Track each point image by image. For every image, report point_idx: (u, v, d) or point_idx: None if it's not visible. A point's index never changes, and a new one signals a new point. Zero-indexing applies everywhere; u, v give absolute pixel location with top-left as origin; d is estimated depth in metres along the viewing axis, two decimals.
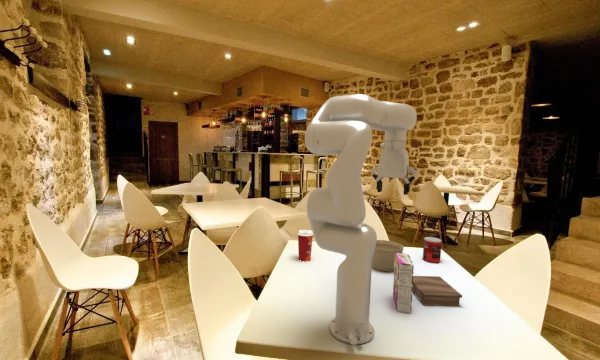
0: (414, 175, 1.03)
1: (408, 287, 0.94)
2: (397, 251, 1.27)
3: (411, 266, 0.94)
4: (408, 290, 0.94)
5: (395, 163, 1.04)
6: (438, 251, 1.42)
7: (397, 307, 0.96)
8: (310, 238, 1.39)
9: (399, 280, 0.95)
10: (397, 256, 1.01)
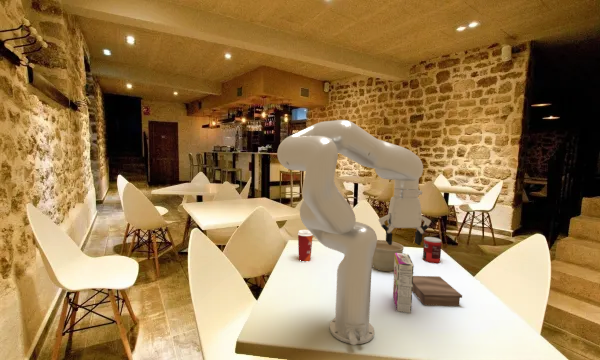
0: None
1: (408, 287, 0.94)
2: (397, 251, 1.27)
3: (411, 266, 0.94)
4: (408, 290, 0.94)
5: None
6: (438, 251, 1.42)
7: (397, 307, 0.96)
8: (310, 238, 1.39)
9: (399, 280, 0.95)
10: (397, 256, 1.01)
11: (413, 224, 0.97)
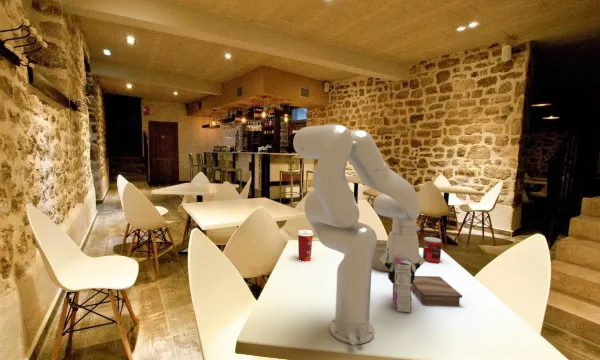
0: None
1: (406, 286, 0.94)
2: None
3: (409, 265, 0.94)
4: (408, 290, 0.94)
5: None
6: (438, 251, 1.42)
7: (397, 307, 0.96)
8: (310, 238, 1.39)
9: (398, 280, 0.95)
10: None
11: (411, 261, 0.98)
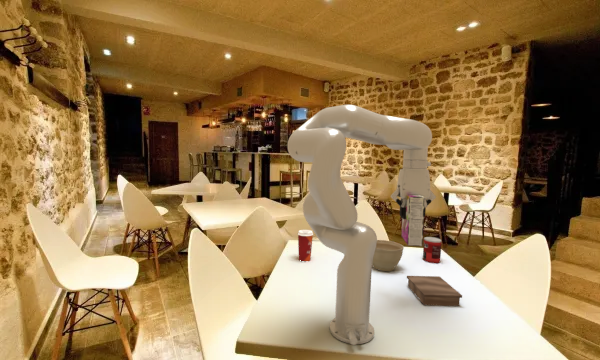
0: None
1: (419, 220, 0.94)
2: (397, 251, 1.27)
3: (422, 198, 0.94)
4: (420, 223, 0.95)
5: None
6: (438, 251, 1.42)
7: (408, 241, 0.96)
8: (310, 238, 1.39)
9: (410, 213, 0.95)
10: None
11: (422, 195, 0.98)
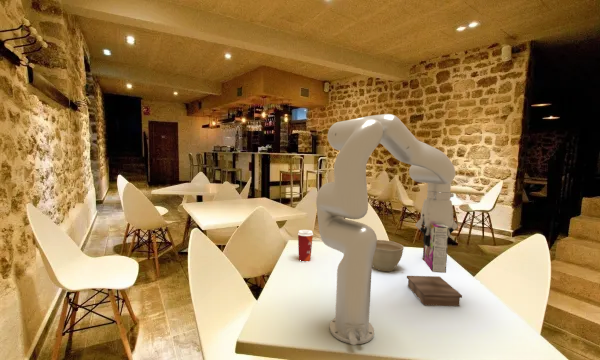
0: None
1: (443, 248, 1.01)
2: (397, 251, 1.27)
3: (446, 228, 1.00)
4: (444, 251, 1.01)
5: None
6: None
7: (433, 267, 1.02)
8: (310, 238, 1.39)
9: (435, 242, 1.01)
10: None
11: (446, 225, 1.04)
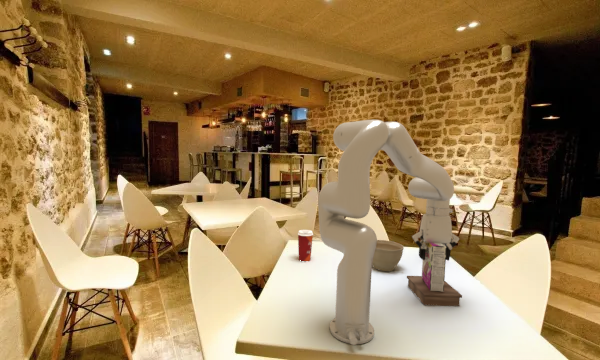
0: None
1: (441, 267, 1.01)
2: (397, 251, 1.27)
3: (444, 248, 1.01)
4: (441, 270, 1.01)
5: None
6: None
7: (431, 287, 1.02)
8: (310, 238, 1.39)
9: (433, 261, 1.02)
10: None
11: (444, 240, 1.04)
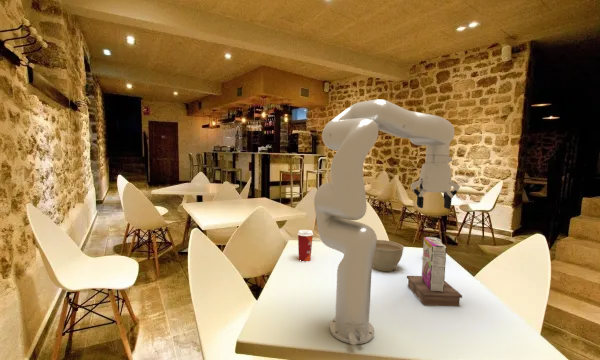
0: None
1: (441, 267, 1.01)
2: (397, 251, 1.27)
3: (444, 248, 1.01)
4: (441, 270, 1.01)
5: None
6: None
7: (431, 287, 1.02)
8: (310, 238, 1.39)
9: (433, 261, 1.02)
10: (428, 240, 1.08)
11: (444, 189, 1.04)
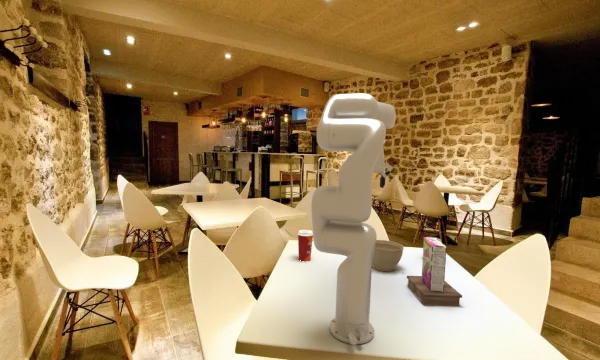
0: None
1: (441, 267, 1.01)
2: (397, 251, 1.27)
3: (444, 248, 1.01)
4: (441, 270, 1.01)
5: None
6: None
7: (431, 287, 1.02)
8: (310, 238, 1.39)
9: (433, 261, 1.02)
10: (428, 240, 1.08)
11: (377, 169, 1.14)
